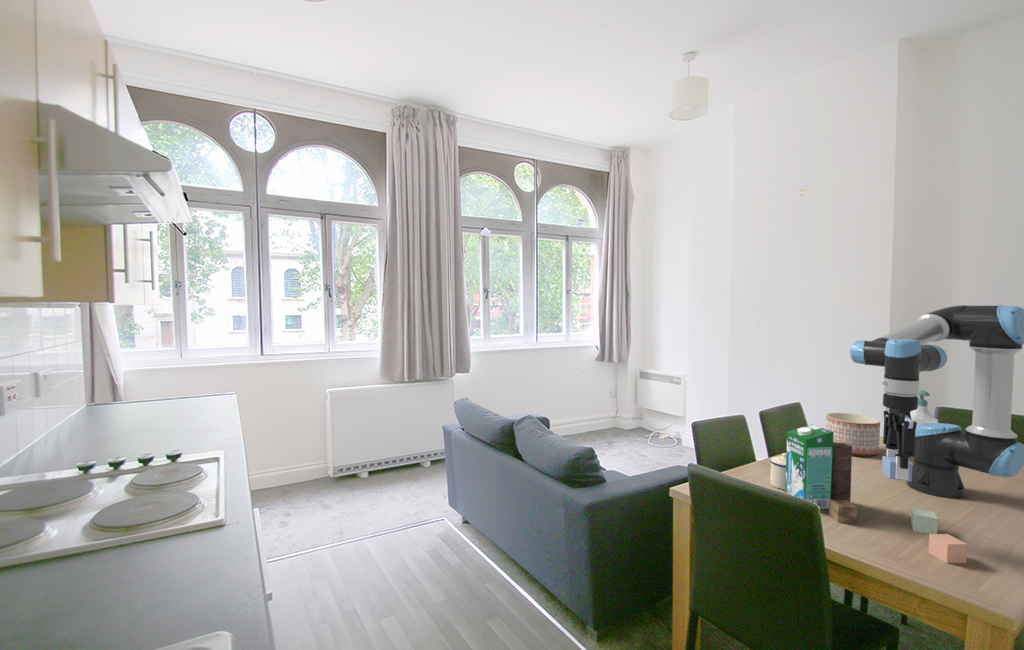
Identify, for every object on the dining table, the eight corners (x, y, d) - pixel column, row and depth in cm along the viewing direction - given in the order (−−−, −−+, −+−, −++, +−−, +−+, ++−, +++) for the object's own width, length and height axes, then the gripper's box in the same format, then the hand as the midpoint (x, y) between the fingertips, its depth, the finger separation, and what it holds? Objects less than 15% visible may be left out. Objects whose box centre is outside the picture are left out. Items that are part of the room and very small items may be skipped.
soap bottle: (937, 452, 201) (940, 390, 199) (934, 457, 195) (938, 393, 194) (905, 446, 209) (907, 387, 208) (901, 450, 204) (904, 389, 202)
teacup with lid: (794, 493, 158) (795, 460, 157) (765, 485, 165) (766, 453, 164) (805, 484, 166) (806, 452, 165) (777, 477, 173) (778, 446, 172)
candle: (842, 510, 145) (844, 448, 144) (817, 501, 151) (819, 441, 150) (855, 505, 148) (857, 444, 147) (830, 496, 155) (833, 438, 154)
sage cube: (933, 528, 134) (934, 512, 133) (936, 536, 129) (937, 518, 129) (910, 524, 136) (911, 507, 136) (913, 531, 132) (914, 514, 132)
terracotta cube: (946, 552, 121) (947, 534, 121) (966, 563, 116) (967, 544, 116) (928, 552, 121) (929, 534, 121) (946, 563, 116) (947, 544, 116)
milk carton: (784, 497, 154) (787, 424, 153) (810, 497, 155) (812, 423, 154) (804, 510, 145) (806, 432, 144) (830, 509, 146) (833, 431, 145)
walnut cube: (846, 516, 141) (847, 500, 141) (856, 523, 136) (856, 507, 136) (828, 515, 142) (829, 499, 142) (837, 522, 137) (838, 506, 137)
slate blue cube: (902, 474, 132) (903, 457, 132) (911, 481, 127) (912, 463, 127) (881, 472, 133) (882, 455, 133) (889, 479, 129) (890, 461, 128)
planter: (838, 456, 196) (840, 422, 195) (816, 443, 215) (818, 411, 214) (889, 459, 193) (890, 424, 192) (862, 445, 211) (863, 413, 211)
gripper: (870, 387, 139) (867, 463, 140) (899, 399, 122) (895, 485, 123) (901, 389, 136) (897, 466, 138) (934, 401, 119) (930, 489, 120)
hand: (896, 475), depth 130 cm, fingers closed on slate blue cube, 5 cm apart
